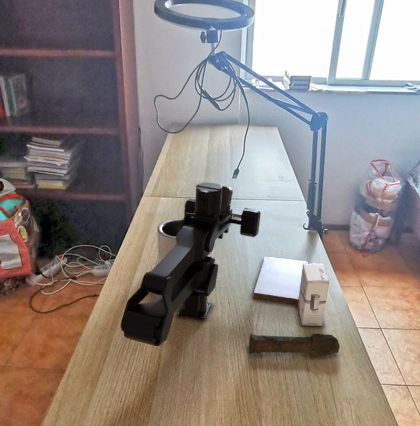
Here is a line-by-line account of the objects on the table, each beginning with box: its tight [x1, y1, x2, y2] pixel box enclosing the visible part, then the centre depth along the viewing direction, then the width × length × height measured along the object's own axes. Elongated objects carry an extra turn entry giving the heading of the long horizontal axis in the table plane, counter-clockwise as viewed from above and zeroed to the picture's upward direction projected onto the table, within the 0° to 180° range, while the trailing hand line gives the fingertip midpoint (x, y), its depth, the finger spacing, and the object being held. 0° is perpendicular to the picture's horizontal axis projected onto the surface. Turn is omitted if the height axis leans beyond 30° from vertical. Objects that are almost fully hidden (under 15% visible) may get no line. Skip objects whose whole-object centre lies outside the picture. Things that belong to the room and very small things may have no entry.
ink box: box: [297, 262, 330, 327], centre depth 112 cm, size 9×5×12 cm, turn 178°
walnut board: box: [252, 256, 309, 305], centre depth 127 cm, size 20×12×2 cm, turn 167°
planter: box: [156, 218, 193, 264], centre depth 130 cm, size 12×13×11 cm
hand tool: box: [248, 332, 341, 357], centre depth 102 cm, size 19×4×5 cm, turn 87°
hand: (232, 208), depth 125 cm, fingers open, 9 cm apart
